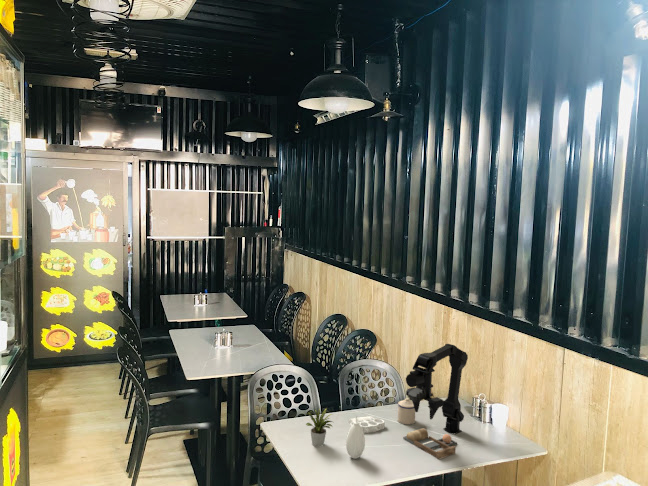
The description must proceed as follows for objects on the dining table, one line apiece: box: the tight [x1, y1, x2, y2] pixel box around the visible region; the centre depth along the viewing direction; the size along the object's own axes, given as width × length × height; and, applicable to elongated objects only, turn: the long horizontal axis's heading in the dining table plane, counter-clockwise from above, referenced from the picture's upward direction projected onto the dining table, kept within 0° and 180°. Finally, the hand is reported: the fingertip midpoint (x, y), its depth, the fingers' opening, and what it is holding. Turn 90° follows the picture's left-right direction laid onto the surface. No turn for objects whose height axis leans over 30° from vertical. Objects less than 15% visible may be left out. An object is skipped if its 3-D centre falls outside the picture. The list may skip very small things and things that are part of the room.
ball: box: [442, 433, 452, 444], centre depth 236 cm, size 4×4×4 cm
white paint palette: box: [348, 415, 385, 434], centre depth 250 cm, size 3×18×15 cm
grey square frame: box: [437, 437, 458, 447], centre depth 236 cm, size 7×7×1 cm
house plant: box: [302, 407, 333, 448], centre depth 228 cm, size 14×14×16 cm
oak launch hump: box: [406, 427, 429, 442], centre depth 238 cm, size 9×5×5 cm, turn 125°
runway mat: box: [402, 435, 441, 451], centre depth 235 cm, size 10×14×1 cm
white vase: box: [345, 416, 366, 460], centre depth 218 cm, size 8×8×18 cm
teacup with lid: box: [397, 397, 416, 425], centre depth 260 cm, size 12×9×12 cm
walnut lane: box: [414, 435, 457, 460], centre depth 229 cm, size 11×15×3 cm
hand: (423, 415), depth 234 cm, fingers open, 9 cm apart
